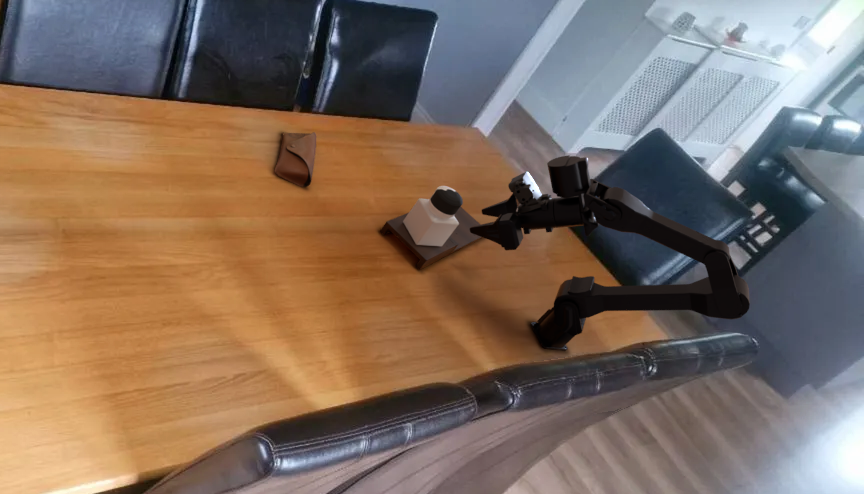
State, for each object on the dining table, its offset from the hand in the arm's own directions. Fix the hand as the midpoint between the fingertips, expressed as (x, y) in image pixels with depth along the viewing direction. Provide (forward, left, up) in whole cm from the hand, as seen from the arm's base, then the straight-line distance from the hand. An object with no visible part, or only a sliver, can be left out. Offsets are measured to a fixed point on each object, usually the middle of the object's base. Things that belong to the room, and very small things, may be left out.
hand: (476, 220), depth 143 cm
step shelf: (+10, -2, -13) cm, 16 cm away
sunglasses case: (+27, +29, -13) cm, 42 cm away
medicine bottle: (+5, +5, -10) cm, 12 cm away
